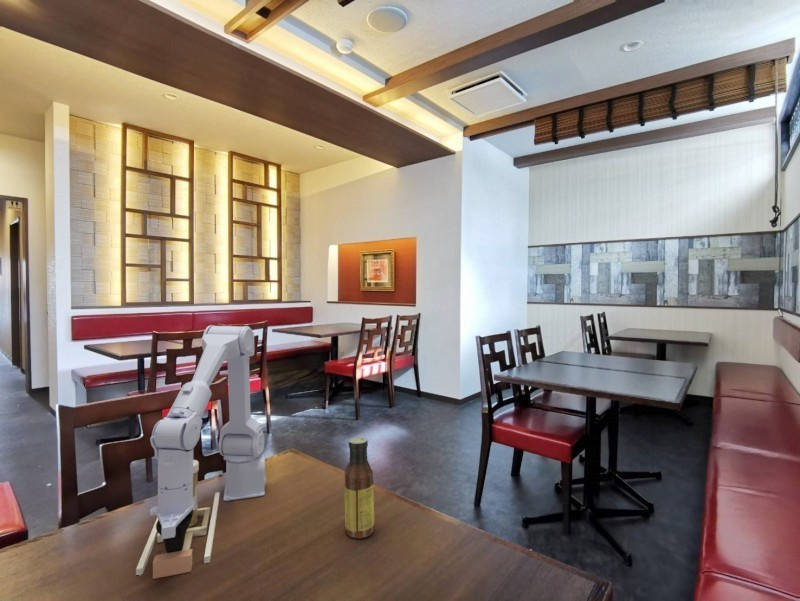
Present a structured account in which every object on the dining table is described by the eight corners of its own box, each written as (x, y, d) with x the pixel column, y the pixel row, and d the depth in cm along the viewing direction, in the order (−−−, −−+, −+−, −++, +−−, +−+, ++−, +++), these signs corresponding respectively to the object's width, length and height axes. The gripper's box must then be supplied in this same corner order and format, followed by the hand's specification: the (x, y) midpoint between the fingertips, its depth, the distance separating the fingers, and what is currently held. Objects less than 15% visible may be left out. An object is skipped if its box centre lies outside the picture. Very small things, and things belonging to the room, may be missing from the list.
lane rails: (219, 496, 102) (219, 492, 102) (209, 562, 77) (210, 555, 77) (164, 504, 98) (164, 499, 98) (135, 575, 73) (136, 569, 73)
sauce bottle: (376, 524, 91) (378, 435, 91) (371, 541, 85) (373, 445, 84) (347, 522, 92) (348, 433, 91) (340, 539, 85) (342, 444, 85)
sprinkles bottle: (172, 531, 87) (173, 468, 87) (176, 520, 91) (177, 459, 91) (196, 528, 88) (196, 465, 88) (199, 517, 93) (200, 457, 92)
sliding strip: (210, 512, 94) (210, 499, 94) (199, 569, 75) (200, 553, 75) (165, 519, 91) (165, 506, 91) (143, 580, 72) (143, 563, 72)
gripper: (159, 469, 81) (158, 537, 82) (140, 504, 68) (140, 586, 68) (198, 464, 84) (197, 530, 84) (188, 498, 70) (187, 577, 70)
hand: (174, 555), depth 76 cm, fingers closed
